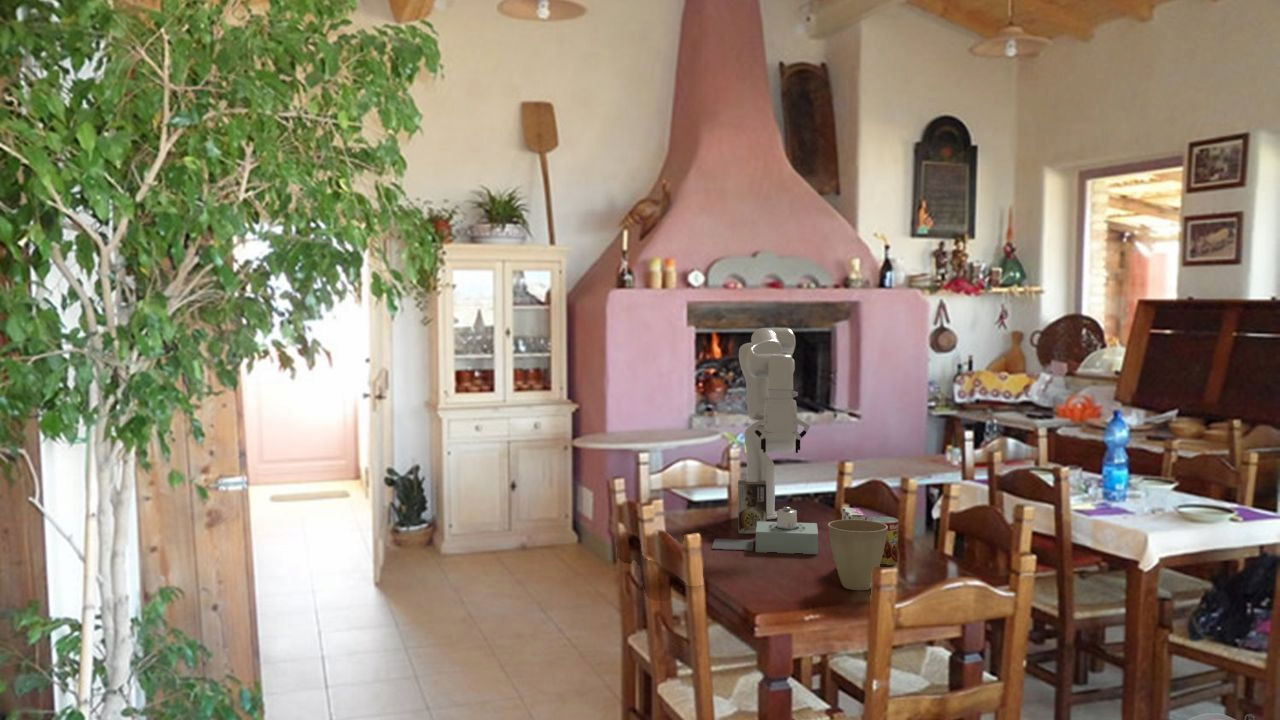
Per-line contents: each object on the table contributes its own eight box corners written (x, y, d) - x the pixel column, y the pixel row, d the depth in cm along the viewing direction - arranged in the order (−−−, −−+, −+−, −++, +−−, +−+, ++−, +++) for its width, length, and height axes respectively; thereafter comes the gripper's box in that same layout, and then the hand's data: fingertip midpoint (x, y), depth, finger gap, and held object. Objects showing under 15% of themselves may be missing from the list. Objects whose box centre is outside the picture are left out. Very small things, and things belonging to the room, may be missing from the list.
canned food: (898, 565, 264) (899, 522, 264) (869, 564, 266) (870, 521, 265) (896, 558, 272) (897, 516, 271) (868, 557, 273) (868, 515, 273)
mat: (714, 539, 294) (714, 538, 294) (753, 541, 292) (753, 540, 292) (711, 549, 282) (711, 548, 282) (752, 551, 281) (752, 549, 280)
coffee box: (766, 529, 308) (766, 480, 307) (766, 534, 302) (767, 483, 301) (737, 528, 309) (738, 479, 308) (738, 533, 303) (738, 483, 302)
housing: (757, 540, 293) (757, 521, 293) (816, 542, 290) (816, 523, 290) (755, 552, 279) (755, 531, 279) (818, 554, 277) (818, 533, 276)
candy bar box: (866, 576, 254) (867, 515, 253) (847, 576, 254) (848, 515, 253) (858, 565, 265) (859, 506, 264) (840, 565, 265) (840, 506, 264)
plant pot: (899, 588, 243) (900, 526, 242) (859, 598, 234) (860, 534, 233) (854, 575, 255) (855, 516, 254) (815, 584, 246) (815, 523, 246)
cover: (777, 538, 288) (777, 505, 288) (796, 538, 287) (796, 505, 287) (776, 542, 282) (777, 509, 282) (796, 543, 281) (796, 509, 281)
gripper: (809, 395, 289) (809, 451, 289) (752, 394, 292) (752, 450, 292) (809, 396, 282) (809, 454, 282) (751, 396, 285) (751, 453, 285)
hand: (780, 452), depth 287 cm, fingers open, 9 cm apart
